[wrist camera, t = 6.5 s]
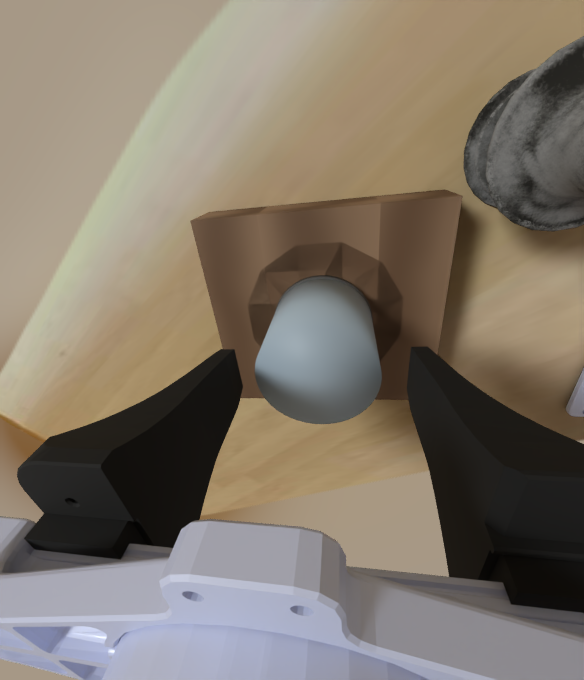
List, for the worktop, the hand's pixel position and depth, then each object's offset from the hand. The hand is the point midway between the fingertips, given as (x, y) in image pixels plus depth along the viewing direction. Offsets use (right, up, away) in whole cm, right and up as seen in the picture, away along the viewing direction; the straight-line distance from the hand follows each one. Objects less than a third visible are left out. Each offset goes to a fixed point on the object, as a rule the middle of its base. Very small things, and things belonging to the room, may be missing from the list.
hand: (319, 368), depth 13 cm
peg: (+1, +3, +6) cm, 7 cm away
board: (+1, +3, +6) cm, 7 cm away
